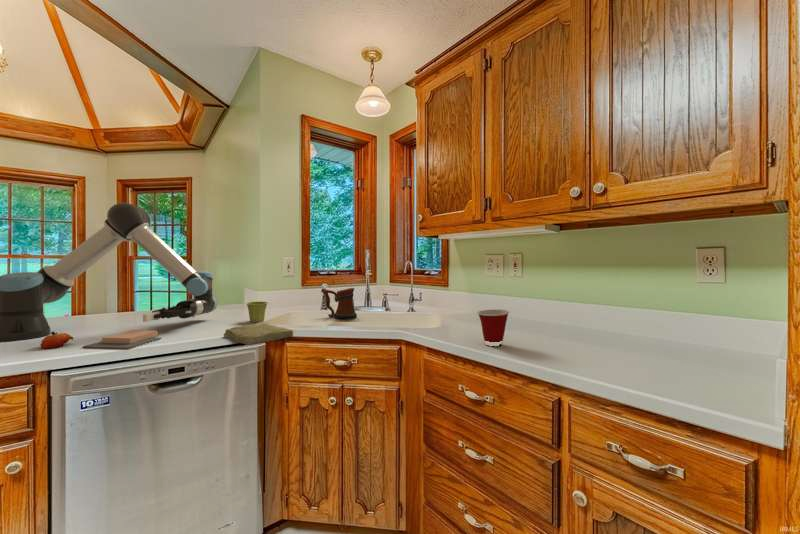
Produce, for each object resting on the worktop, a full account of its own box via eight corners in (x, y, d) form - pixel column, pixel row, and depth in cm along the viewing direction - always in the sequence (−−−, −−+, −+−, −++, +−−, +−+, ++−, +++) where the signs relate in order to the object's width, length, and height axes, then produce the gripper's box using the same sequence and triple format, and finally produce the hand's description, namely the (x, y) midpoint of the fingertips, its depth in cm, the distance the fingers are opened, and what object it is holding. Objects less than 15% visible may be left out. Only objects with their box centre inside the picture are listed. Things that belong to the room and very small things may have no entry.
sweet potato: (68, 337, 123) (69, 324, 120) (76, 352, 121) (78, 339, 118) (36, 345, 116) (36, 332, 113) (44, 361, 114) (45, 347, 111)
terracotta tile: (132, 335, 131) (102, 343, 119) (132, 330, 130) (102, 337, 118) (157, 336, 130) (130, 344, 118) (157, 330, 130) (130, 338, 118)
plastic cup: (474, 340, 129) (474, 308, 128) (504, 341, 128) (504, 308, 128) (480, 348, 118) (480, 313, 117) (512, 349, 118) (513, 313, 117)
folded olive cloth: (264, 330, 146) (264, 321, 146) (294, 337, 134) (294, 328, 134) (219, 338, 132) (219, 329, 132) (247, 347, 119) (247, 336, 119)
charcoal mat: (82, 347, 115) (82, 346, 115) (120, 338, 129) (120, 336, 129) (128, 349, 114) (128, 347, 114) (161, 339, 127) (161, 337, 127)
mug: (317, 319, 171) (317, 288, 171) (324, 315, 183) (324, 286, 182) (354, 319, 170) (354, 288, 169) (359, 315, 181) (359, 286, 181)
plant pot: (272, 320, 165) (272, 302, 165) (254, 324, 158) (254, 304, 157) (259, 318, 171) (259, 301, 170) (241, 321, 163) (241, 303, 162)
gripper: (203, 317, 153) (161, 328, 129) (175, 316, 154) (128, 327, 130) (203, 300, 152) (161, 308, 129) (174, 299, 154) (128, 307, 130)
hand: (144, 318), depth 130 cm, fingers closed
